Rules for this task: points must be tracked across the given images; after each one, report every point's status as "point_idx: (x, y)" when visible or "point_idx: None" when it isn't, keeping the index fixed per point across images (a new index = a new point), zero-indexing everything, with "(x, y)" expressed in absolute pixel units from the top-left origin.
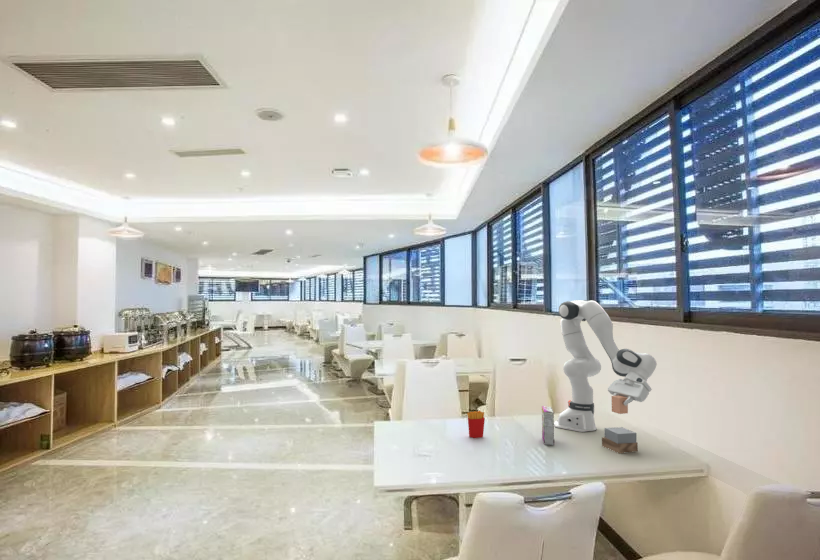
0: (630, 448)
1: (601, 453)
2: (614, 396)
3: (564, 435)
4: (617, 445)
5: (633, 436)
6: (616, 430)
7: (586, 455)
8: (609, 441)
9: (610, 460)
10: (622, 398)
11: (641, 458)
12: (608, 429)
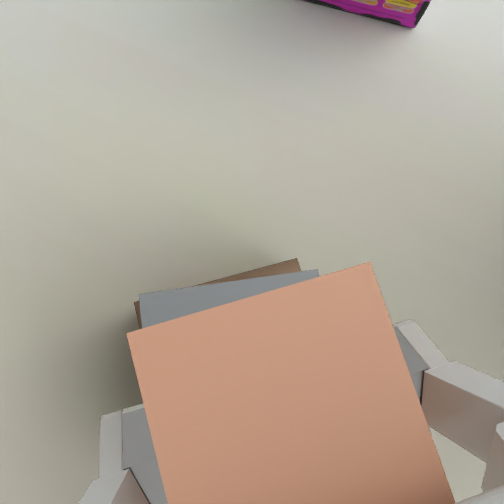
0: None
1: (150, 197)
2: (315, 305)
3: (489, 129)
4: None
5: None
6: None
7: (121, 97)
8: (224, 278)
9: (29, 191)
10: (153, 429)
11: (43, 407)
12: (271, 281)
